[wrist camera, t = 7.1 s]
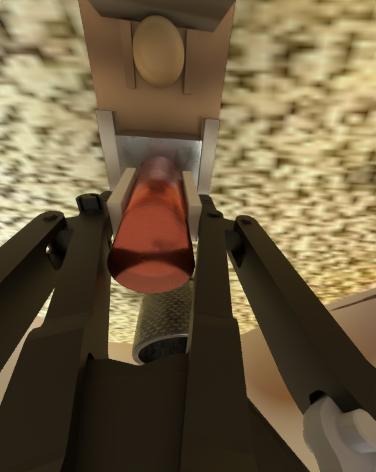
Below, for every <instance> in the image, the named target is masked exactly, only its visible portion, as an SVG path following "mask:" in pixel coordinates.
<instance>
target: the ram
mask: <svg viewBox="0 0 376 472" xmlns="http://www.w3.org/2000/svg"><path fill="white" fill-rule="evenodd" d="M115 141H116V148H117V154H118V161H119V168H120V174H121V177H122V175H123V174H124V172H125V170H126V168H136V173H137V180H136V183H135V186H134V188H133V191H132V194H131V196H130V199H129V201H128V204H127V207H126V209H125V212H124V215H123V217H122V220H121V223H120V225H119V228H118V231H117V233H116V236H115V239H114V241H113V244H112V247H111V249H110V252H109V254H108V258H107V267H108V270H109V273H110V274H111V276H112V277H113V278H114V279H115V280H116V281H117V282H118V283H119V284H121V285H122V286H124V287H126V288H128V289H130V290H133V291H137V292H142V293H162V292H167V291H171V290H173V289H176V288H178V287H180V286H181V285H183V284H184V283H185V282H187V281H188V280H189V278H190V277H191V276H192V274H193V272H194V268H195V259H194V253H193V247H192V241H191V235H190V230H189V224H188V218H187V212H186V206H185V200H184V194H183V188H182V171H191V173H192V176H193V179H194V183H195V186H196V189H197V184H198V175H199V166H200V157H201V147H202V140H201V139H200V138H199V137H198V135H197V134H187V133H173V132H158V131H144V130H130V129H123V130H122V131H120V132H119V133H117V134H116V135H115Z"/></svg>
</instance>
